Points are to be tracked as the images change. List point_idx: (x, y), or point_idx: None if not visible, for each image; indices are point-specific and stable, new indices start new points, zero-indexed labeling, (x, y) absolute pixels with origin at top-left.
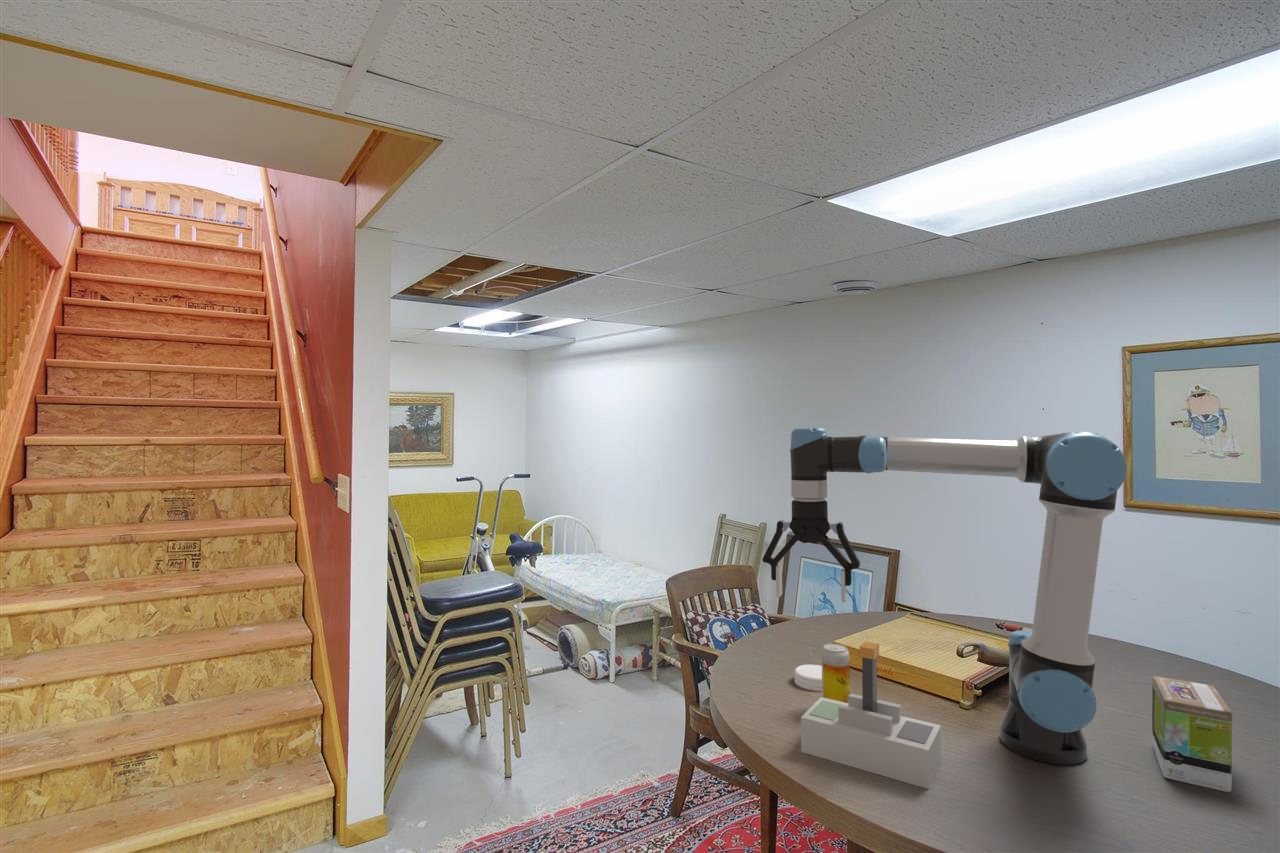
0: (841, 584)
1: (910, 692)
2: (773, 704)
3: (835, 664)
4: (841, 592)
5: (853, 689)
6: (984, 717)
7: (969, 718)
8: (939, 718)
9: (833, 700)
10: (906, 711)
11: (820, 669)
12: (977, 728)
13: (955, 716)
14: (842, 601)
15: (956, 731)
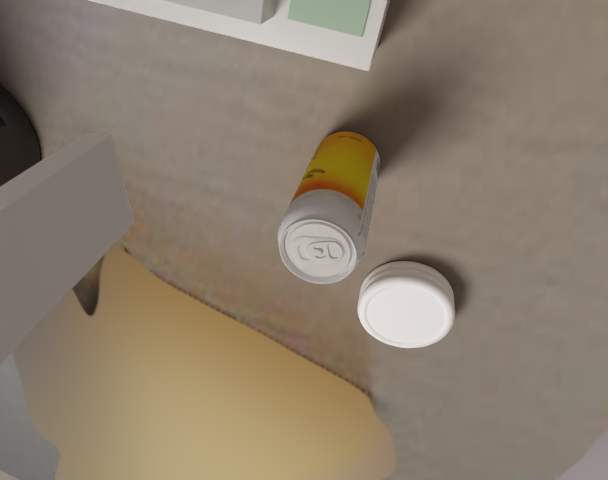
0: (6, 206)
1: (215, 293)
2: (511, 161)
3: (320, 192)
4: (61, 169)
5: (320, 284)
6: None
7: None
8: (147, 195)
9: (329, 57)
10: (207, 209)
11: (391, 327)
12: None
13: None
14: (100, 137)
15: None
